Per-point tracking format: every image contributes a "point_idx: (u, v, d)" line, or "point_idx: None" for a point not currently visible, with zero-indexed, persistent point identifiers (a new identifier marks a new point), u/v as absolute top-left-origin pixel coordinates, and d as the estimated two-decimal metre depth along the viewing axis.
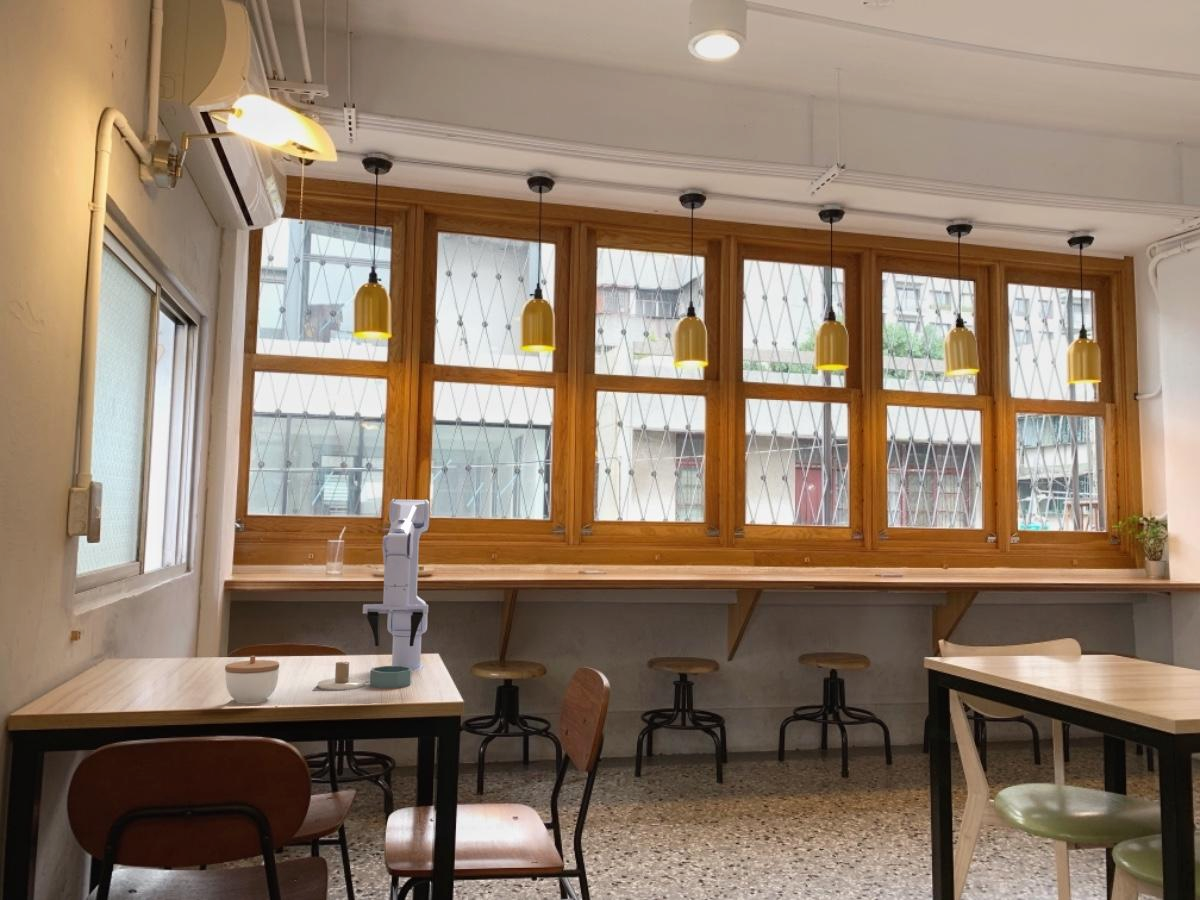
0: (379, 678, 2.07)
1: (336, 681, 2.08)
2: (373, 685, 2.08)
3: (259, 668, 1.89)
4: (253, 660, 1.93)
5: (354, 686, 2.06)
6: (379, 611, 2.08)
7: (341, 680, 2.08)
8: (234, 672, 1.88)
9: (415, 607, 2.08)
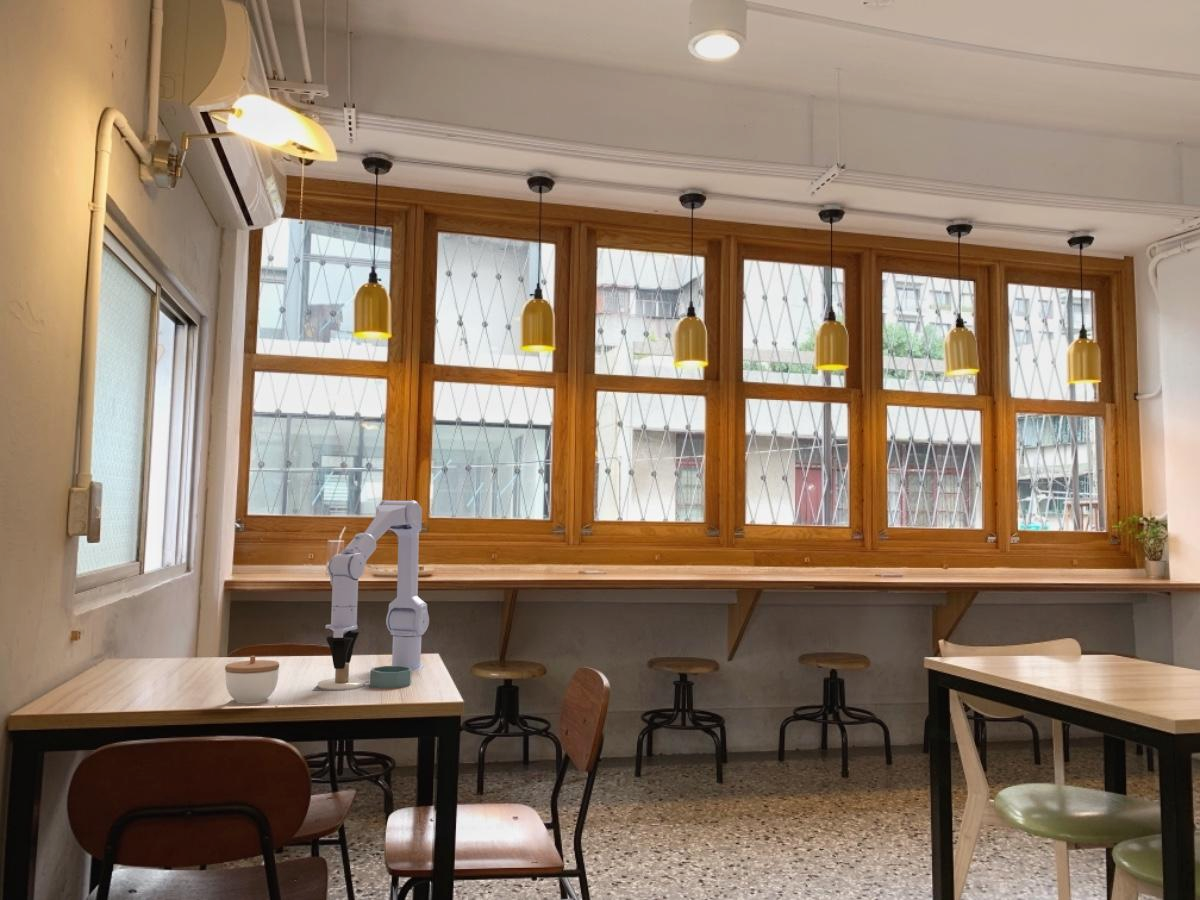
0: (379, 678, 2.07)
1: (336, 681, 2.08)
2: (373, 685, 2.08)
3: (259, 668, 1.89)
4: (253, 660, 1.93)
5: (354, 686, 2.06)
6: None
7: (341, 680, 2.08)
8: (234, 672, 1.88)
9: (333, 629, 2.06)
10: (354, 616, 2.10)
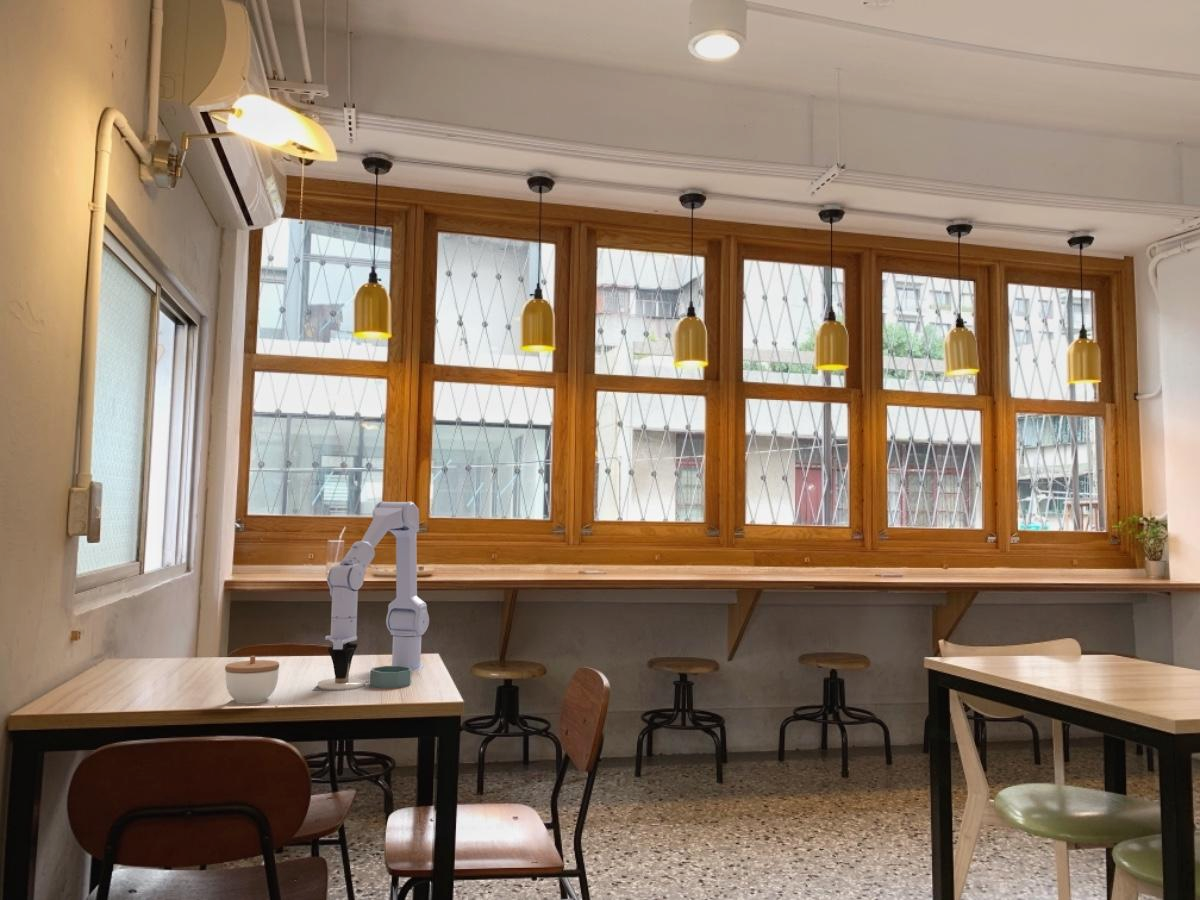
0: (379, 678, 2.07)
1: (336, 681, 2.08)
2: (373, 685, 2.08)
3: (259, 668, 1.89)
4: (253, 660, 1.93)
5: (354, 686, 2.06)
6: None
7: (341, 680, 2.08)
8: (234, 672, 1.88)
9: (332, 640, 2.05)
10: (354, 627, 2.09)
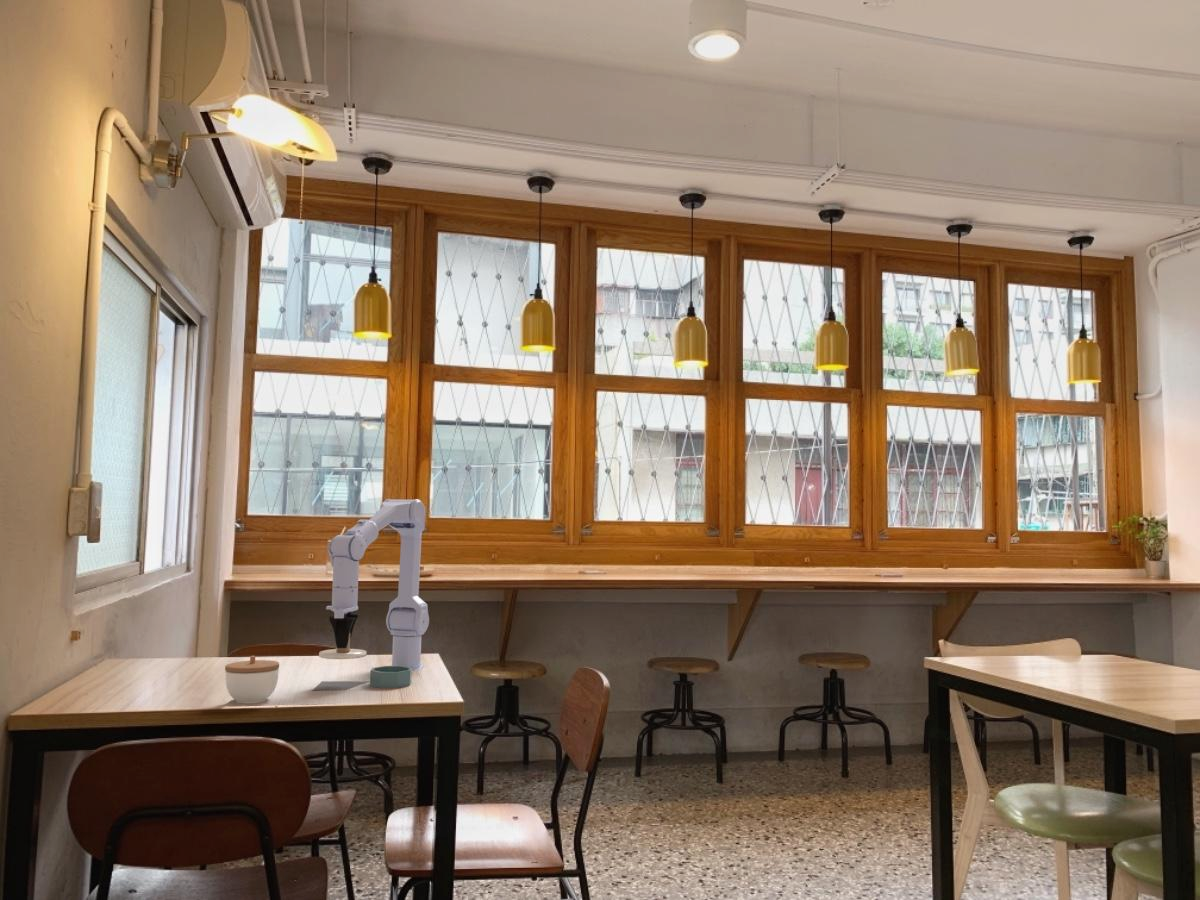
0: (379, 678, 2.07)
1: (337, 651, 2.09)
2: (373, 685, 2.08)
3: (259, 668, 1.89)
4: (253, 660, 1.93)
5: (355, 655, 2.06)
6: None
7: (342, 649, 2.08)
8: (234, 672, 1.88)
9: (333, 610, 2.06)
10: (355, 597, 2.10)
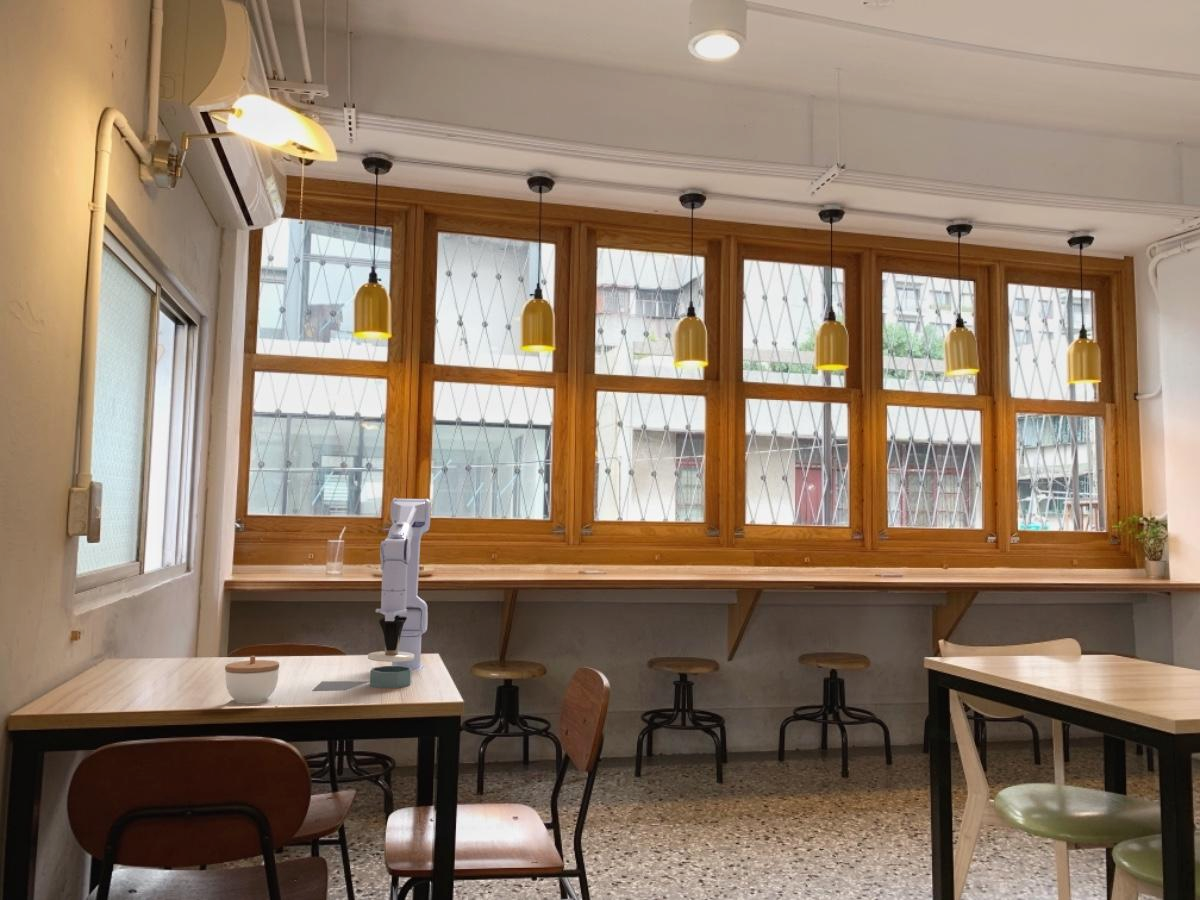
0: (379, 678, 2.07)
1: (386, 653, 2.11)
2: (373, 685, 2.08)
3: (259, 668, 1.89)
4: (253, 660, 1.93)
5: (404, 658, 2.08)
6: None
7: (391, 652, 2.10)
8: (234, 672, 1.88)
9: (384, 612, 2.08)
10: (404, 600, 2.12)
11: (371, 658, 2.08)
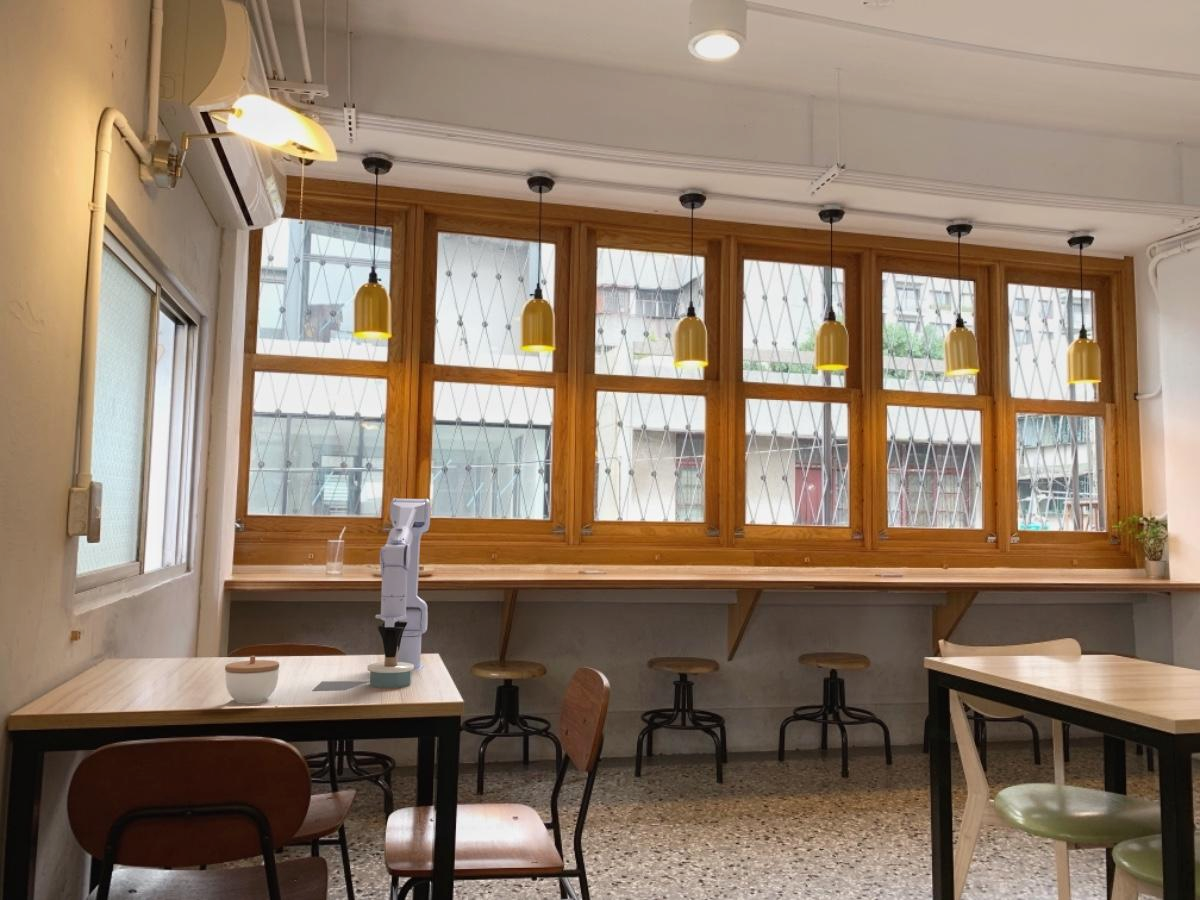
0: (379, 678, 2.07)
1: (386, 664, 2.11)
2: (373, 685, 2.08)
3: (259, 668, 1.89)
4: (253, 660, 1.93)
5: (404, 669, 2.08)
6: None
7: (390, 663, 2.10)
8: (234, 672, 1.88)
9: (383, 618, 2.08)
10: (404, 606, 2.12)
11: (371, 670, 2.08)
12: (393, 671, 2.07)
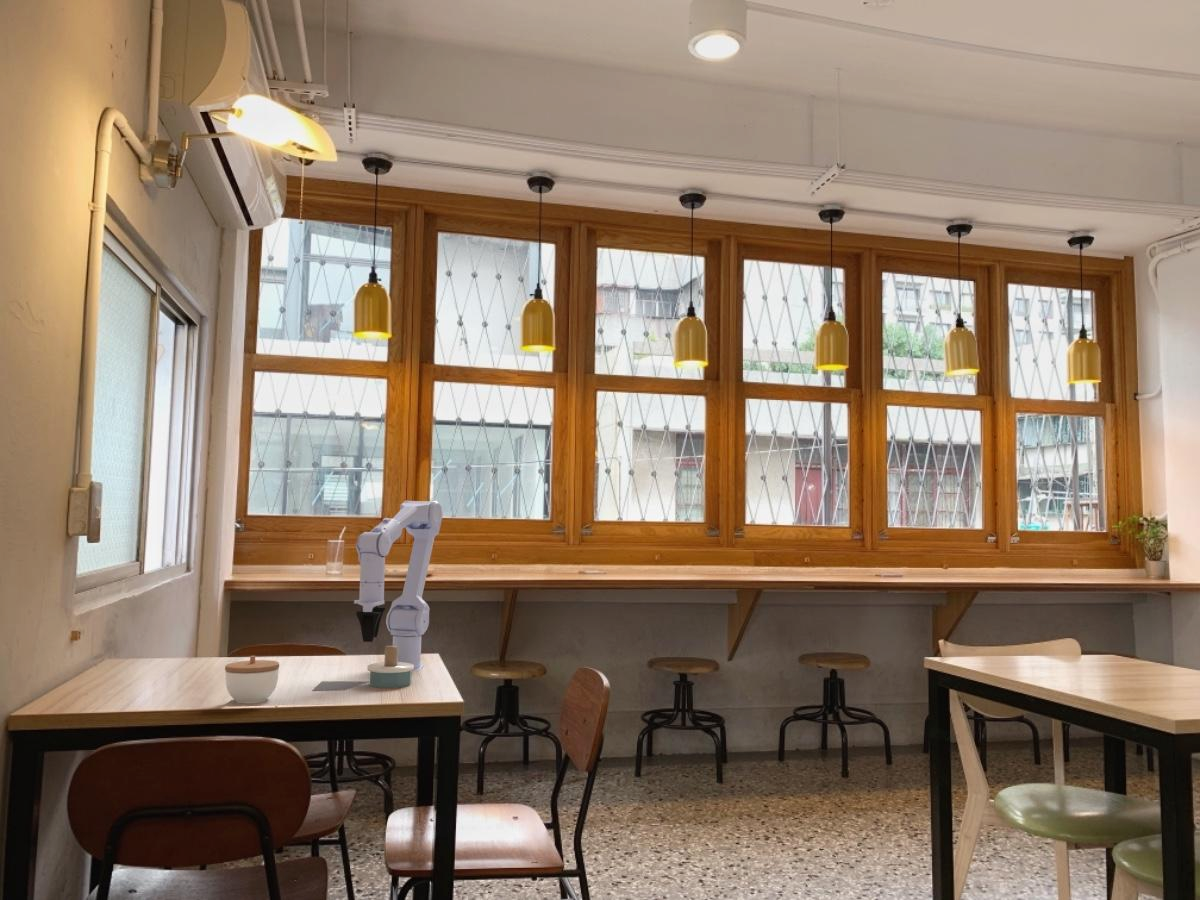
0: (379, 678, 2.07)
1: (386, 664, 2.11)
2: (373, 685, 2.08)
3: (259, 668, 1.89)
4: (253, 660, 1.93)
5: (404, 669, 2.08)
6: None
7: (390, 663, 2.10)
8: (234, 672, 1.88)
9: (362, 604, 2.14)
10: (382, 592, 2.18)
11: (371, 670, 2.08)
12: (393, 671, 2.07)
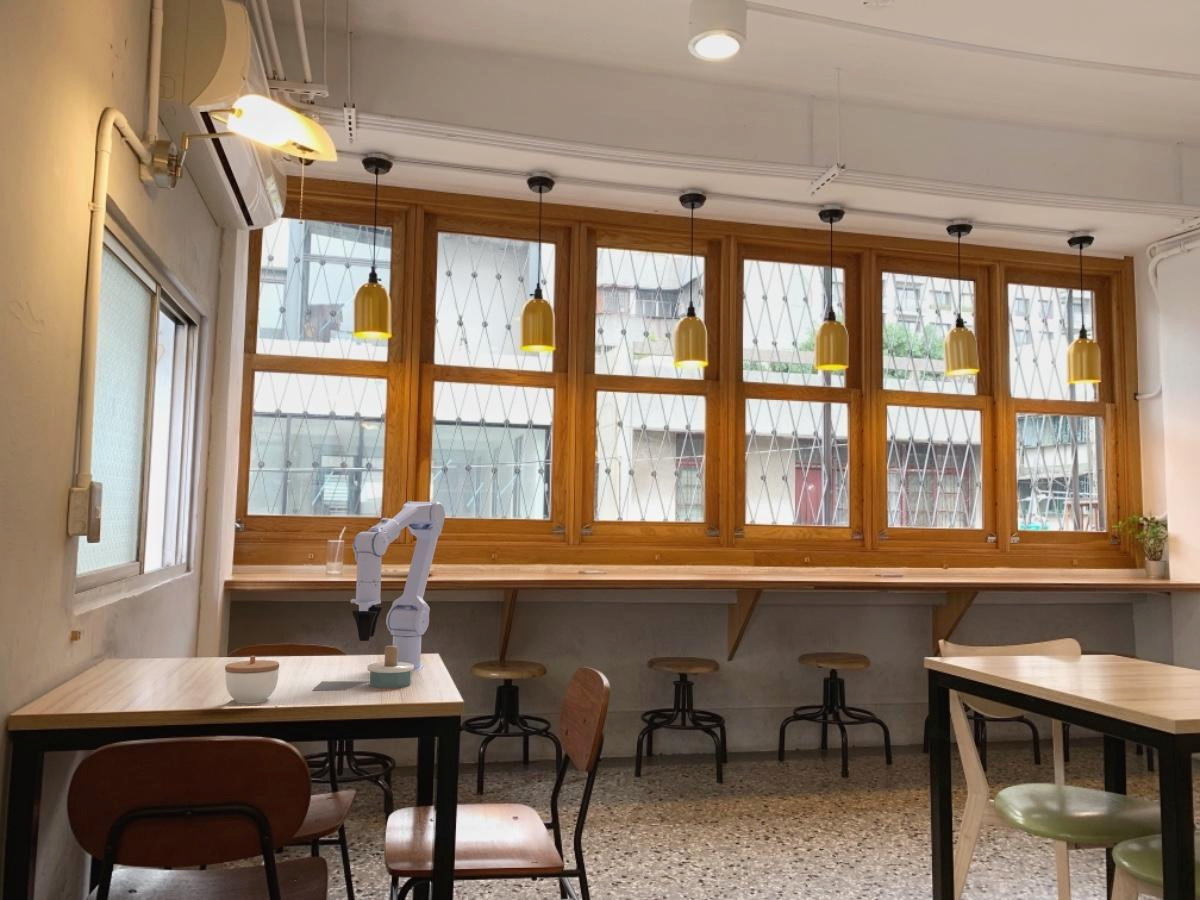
0: (379, 678, 2.07)
1: (386, 664, 2.11)
2: (373, 685, 2.08)
3: (259, 668, 1.89)
4: (253, 660, 1.93)
5: (404, 669, 2.08)
6: None
7: (390, 663, 2.10)
8: (234, 672, 1.88)
9: (358, 603, 2.15)
10: (378, 591, 2.19)
11: (371, 670, 2.08)
12: (393, 671, 2.07)
